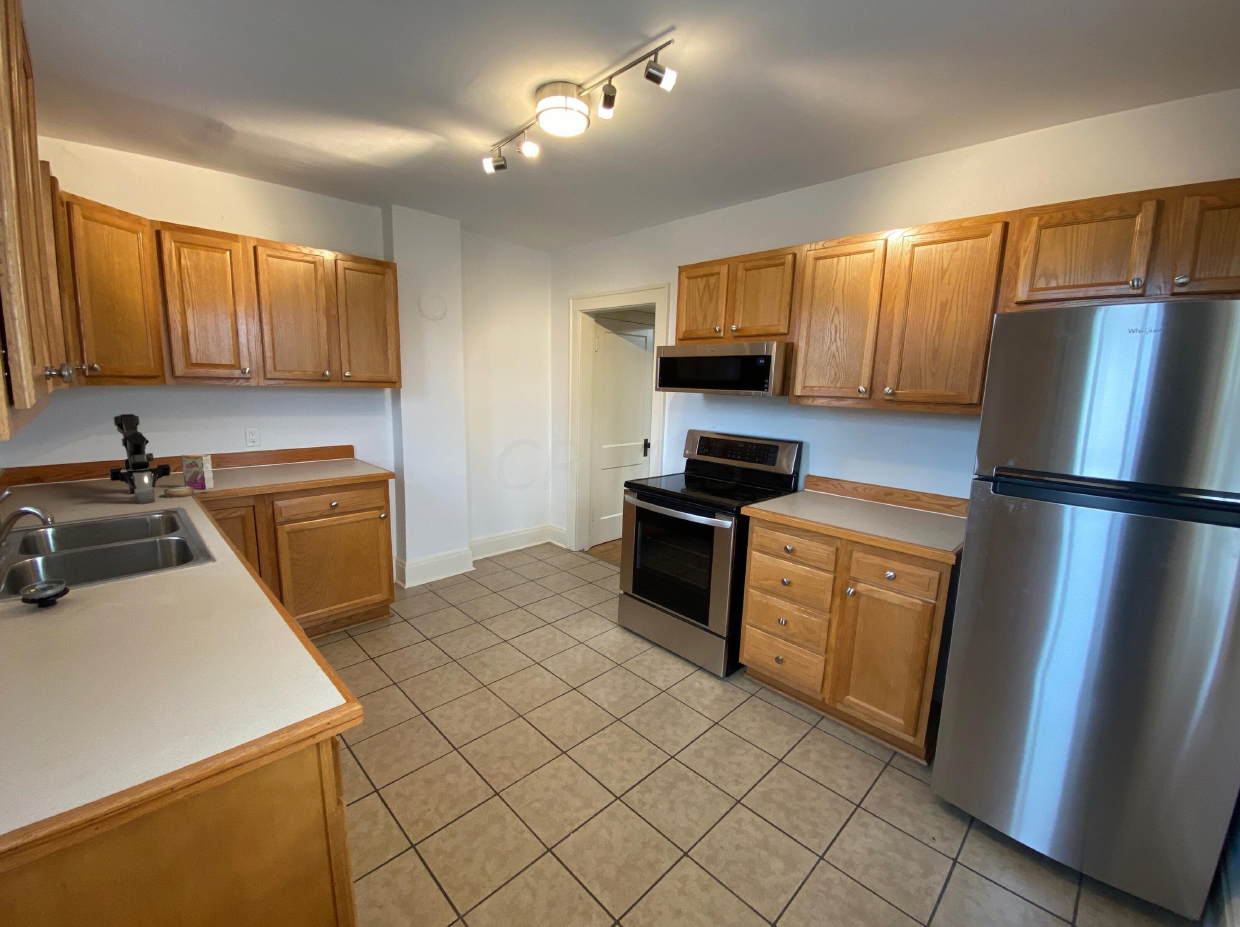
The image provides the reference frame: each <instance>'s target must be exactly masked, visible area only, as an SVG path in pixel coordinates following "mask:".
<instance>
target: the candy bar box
mask: <svg viewBox="0 0 1240 927" xmlns="http://www.w3.org/2000/svg"><path fill="white" fill-rule="evenodd" d="M180 456H181V464H182V472H183V480H184V487H193V489H194V490H205V489H206V490H211V489H214V488H215V484H214V483H215V482H214V473H213V462H212V455H211V454H199V453H188V454H181V455H180ZM210 488H211V489H210Z"/></svg>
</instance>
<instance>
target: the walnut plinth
mask: <svg viewBox="0 0 1240 927" xmlns="http://www.w3.org/2000/svg"><path fill="white" fill-rule="evenodd" d="M194 490H195V489H193V487H185V486H175V487H169V488H165V489H163V492H164V498H166V497H178V498H185V496H186V497H190V496H191V497H192V496H193V495H195V492H194Z"/></svg>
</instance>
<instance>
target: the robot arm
mask: <svg viewBox="0 0 1240 927" xmlns="http://www.w3.org/2000/svg"><path fill="white" fill-rule="evenodd" d="M113 425H114V427H116V430H117V432H118V433H120V434H121V435H122V437H123V438H121V445H122V447H124V449H125V452H126V459H125V460H124V467H111V468H109V478H110V481H111V482H114V481H115V482H116V481H119V482H123V483H125V484H126V485H128V488H129V491H128V492H127V494H128V495H131V494H132V495H135V491H134V489H135V488H134V484H133V476H132V473H134V472H142V471H151V472H152V479H153V487H154V488H156V485H157V482H158V481H159V480H160V479H161V478H163V477H169V476H171V466H170V464H169V463H162V464H157V465H156V467H154V468H151V467H150V462H154V454H153V452H149V453H146V449H147V448H146V447H147V445H148V444H149V440H148V439H147V438H146V437H145V436H144V435H143V433H142V432H140V431H138V430H139V426H140V419H139V416H138V415H136V414H133V413H122V414H119V415H116V416H113Z"/></svg>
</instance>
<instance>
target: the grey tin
mask: <svg viewBox="0 0 1240 927" xmlns="http://www.w3.org/2000/svg"><path fill="white" fill-rule="evenodd" d="M132 476H133V484H134V488H135V489H134V491H135V493H134V498H135V504H136V505H147V504H153V503H155V502H156V496H155V489H154V488H155V487H153V473H152V472H151V471H142V472H134V473H132ZM152 502H153V503H152Z"/></svg>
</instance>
